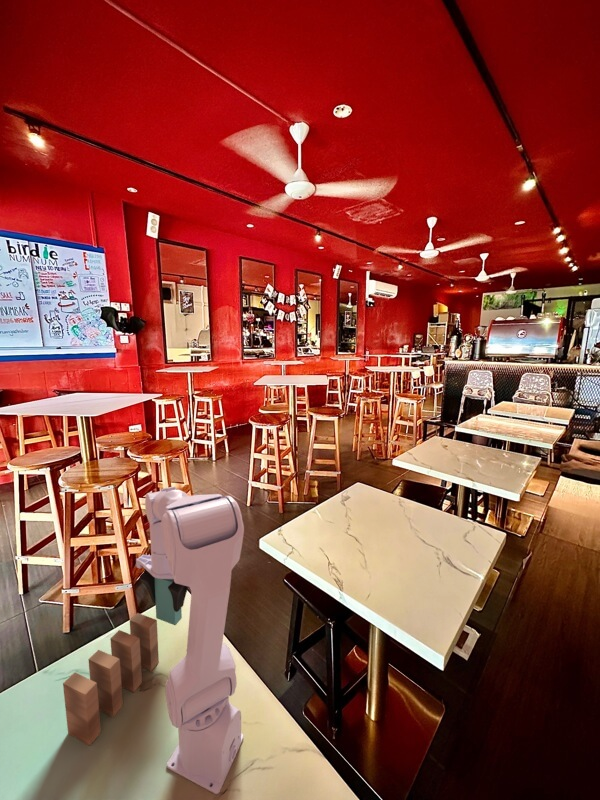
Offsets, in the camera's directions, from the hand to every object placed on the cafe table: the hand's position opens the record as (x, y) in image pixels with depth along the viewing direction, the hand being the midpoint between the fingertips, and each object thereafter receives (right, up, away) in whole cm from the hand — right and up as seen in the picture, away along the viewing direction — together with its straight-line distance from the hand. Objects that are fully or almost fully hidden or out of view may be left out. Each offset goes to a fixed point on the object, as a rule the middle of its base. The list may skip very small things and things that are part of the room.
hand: (168, 604), depth 70 cm
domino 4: (-4, -11, -2) cm, 12 cm away
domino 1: (-8, -13, -14) cm, 21 cm away
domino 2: (-7, -12, -10) cm, 17 cm away
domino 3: (-5, -12, -6) cm, 14 cm away
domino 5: (0, -3, +1) cm, 3 cm away
